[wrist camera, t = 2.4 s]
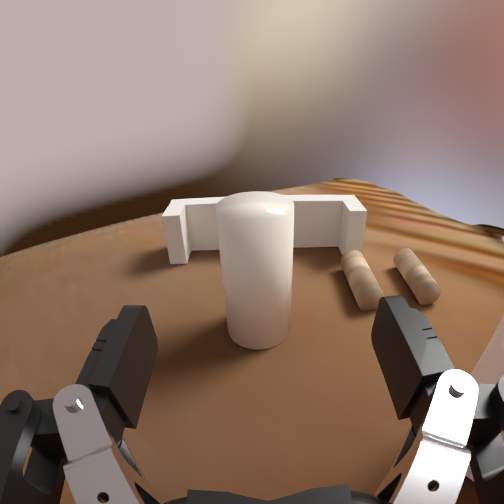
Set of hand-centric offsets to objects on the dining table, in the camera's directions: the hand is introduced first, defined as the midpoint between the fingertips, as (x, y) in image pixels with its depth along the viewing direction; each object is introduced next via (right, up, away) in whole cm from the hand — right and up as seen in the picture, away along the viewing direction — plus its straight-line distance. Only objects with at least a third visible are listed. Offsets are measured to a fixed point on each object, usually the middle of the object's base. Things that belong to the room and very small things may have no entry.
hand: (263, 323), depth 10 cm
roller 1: (+11, -1, +20) cm, 23 cm away
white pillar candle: (0, -4, +16) cm, 16 cm away
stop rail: (+1, +3, +27) cm, 27 cm away
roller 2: (+16, +1, +19) cm, 25 cm away
